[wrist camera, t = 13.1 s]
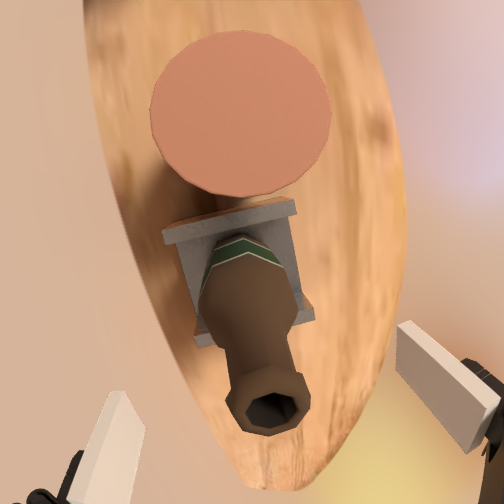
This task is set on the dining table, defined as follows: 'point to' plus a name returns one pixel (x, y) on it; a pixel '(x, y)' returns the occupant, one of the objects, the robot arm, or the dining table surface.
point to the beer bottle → (254, 334)
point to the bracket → (229, 224)
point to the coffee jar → (240, 114)
